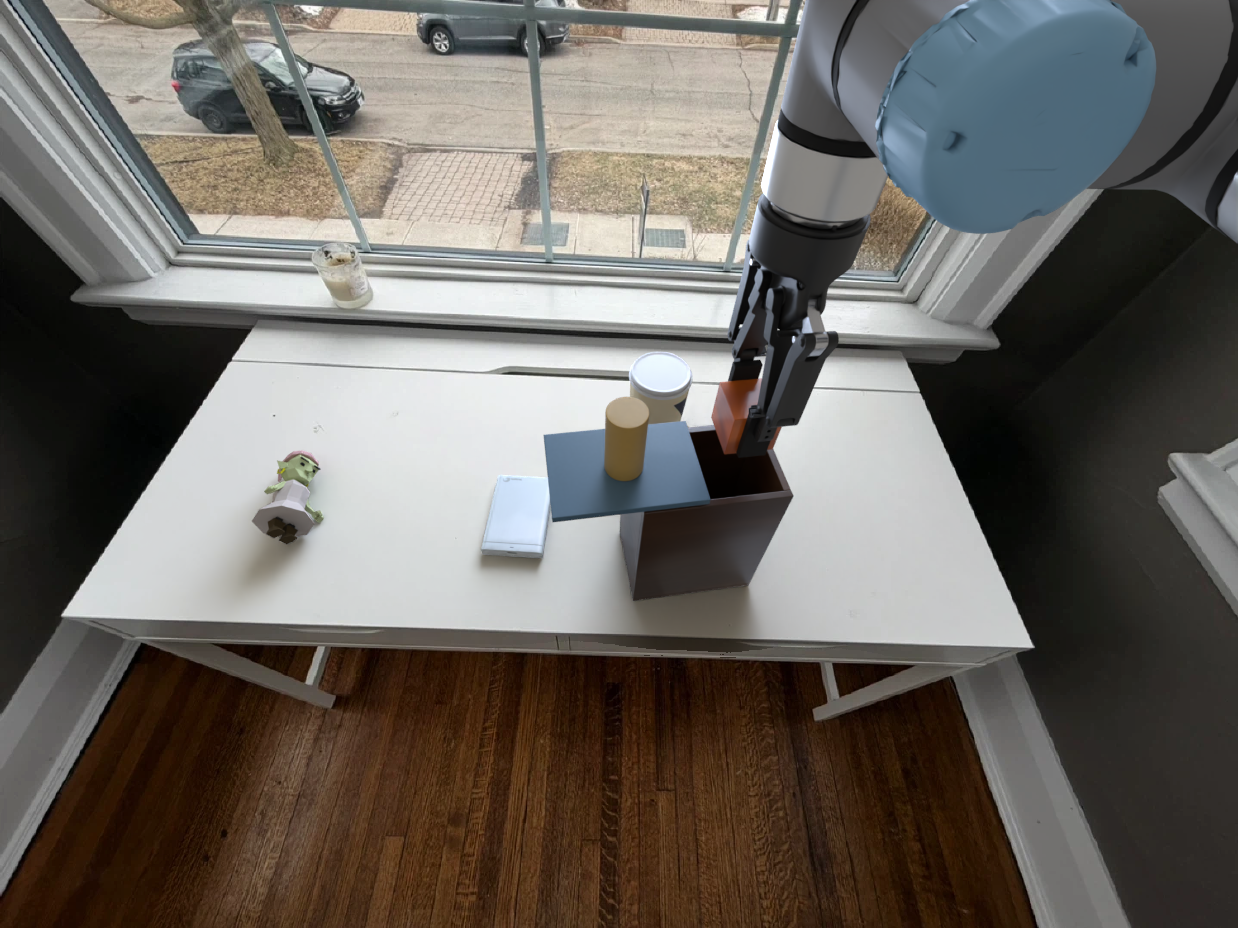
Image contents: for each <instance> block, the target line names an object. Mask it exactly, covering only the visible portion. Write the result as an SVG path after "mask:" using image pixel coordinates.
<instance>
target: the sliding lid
mask: <svg viewBox="0 0 1238 928" xmlns="http://www.w3.org/2000/svg"><path fill="white" fill-rule="evenodd" d="M604 417H605V419H604V420H605V421H604V428H597V429H588V430H579V431H577V430H576V431H567V432H558V433H556V432H555V433H547V434H546V433H545V434H543V444H544V452H545V453H544V454H545V455H544V456H545V463H546V464H545V465H546V475H547V478H548V485H549V494H550V504H551V505H550V513H551V521H552V523H560V522H568V521H569V522H570V521H576V520H577V521H578V520H585V519H594V518H602V517H603V518H604V517H611V516H621V514H629V513H637V512H646V511H654V510H663V509H671V508H680V507H688V506H697V505H705V504H709V503H710V500H711V499H710V496H709V493H708V490H707V487H706V484H705V480H704V477H703V474H702V471H701V468H700V465H699V462H698V458H697V455H696V452H695V449H694V446H693V443H692V439H691V436H690V433H689V430H688V424H687V421H686V420H681V421H679V422H669V423H659V424H648V422H649V409H648V407H647V406H646V404H645V403H644V402H642V401H641V400H639V399H637V398H634V397H630V396H621V397H620V396H619V397H616V398H613V400H611V401H610V402H609V403H608V404H607V406H606V407H605V415H604Z"/></svg>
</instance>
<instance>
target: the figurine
mask: <svg viewBox="0 0 1238 928" xmlns="http://www.w3.org/2000/svg"><path fill="white" fill-rule="evenodd" d="M276 462H277V466H278V468H277V470H276V474H277V482H278V483H276V484H273V485H269V486H267V487H266V489H264V490H263V491H264V492H263V493H264V494H266V495H271V494H272V499H271V503H267V504H266V505H263V506H262V507H260V508H259V509H257V512H256V513H255V515H254V517H253V518H252V520H251V522H252V523H253V524H254V525H255V526H256V527H257V529H259V531H260V532H261V533H262V534H265V535H266V536H268V537H270V538H272V539H276V538H278V542H280V543H282V544H284V545H289V544H292V543H294V542H296V540H297V539H298V537H302V536H308V534H309V533H310V532H311V530H312V529H313V527H314V526H315V525H316V523H319V524H321V522H323V521H324V519H325V516H324V515H323V512H322V511H321V510H316V511H315V510H314V509H313V507H311V504H310V501H309V498H310V495H311V492H310V490H309V489H308V487H309V485H310V483H311V482H312V481H313V479H314V477H316V474H317V473H318V472H319V471H320V470H321V467H319V465H320V462H319V460H317V458H316V457H315V455H313V454H312V452H309V451H306V450H303V449H301V450H294V451H292V452H290V453H289V454H287V455H286V457H285V458H284V459H283V460H276ZM282 479H283V481H282ZM310 515H311V516H310ZM313 519H314V520H313ZM314 521H315V522H316V523H315V522H314Z"/></svg>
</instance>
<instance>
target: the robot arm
mask: <svg viewBox="0 0 1238 928" xmlns="http://www.w3.org/2000/svg"><path fill="white" fill-rule="evenodd" d="M795 40H796V41H795V45H794V49H793V53H792V58H791V62H790V66H789V71H788V75H787V78H786V79H787V80H786V84H785V87H784V92H783V97H782V101H781V104H780V110H779V114H778V118H777V120H776V122H775V125H774V129H773V134H772V138H771V141H770V145H769V150H768V155H767V159H766V163H765V167H764V170H763V171H764V172H763V176H762V179H761V184H760V187H761V190H762V193H761V194H760V196H759V197H758V200H757V203H756V209H755V213H754V217H753V221H752V225H751V229H750V234H749V236H748V240H747V241H746V245H745V254H744V263H743V269H742V272H741V277H740V280H739V285H738V289H737V293H736V297H735V301H734V304H733V305H734V306H733V310H732V314H731V317H730V320H729V326H728V329H727V339H728V341H729V342H734V343H733V345H732V348H731V356H732V359H733V361H732V364H731V367H730V370H729V375H728V379H727V381H738V380H749V379H760V374H761V372H762V374H761V375H762V376H761V378H762V381H761V387H760V393H759V398H758V404H757V405H751V408H749V414H748V417H747V421H746V424H745V427H744V430H743V433H742V436H741V439H740V442H739V445H738V448H737V451H736V453H737V455H738V458H742V457H752V456H761V455H765V454H766V452H767V449H768V446H769V444H770V441H771V440H772V439H773V438H774V435H775V433H776V430H777V428H778V427H782V428H783V427H793V426H794V427H795V426H798V425H799V424H800V421H801V418H802V417H803V414H804V412H805V409H806V408H807V404H808V402H809V400H810V397H811V395H812V393H813V391H814V388H815V385H816V383H817V381H818V379H819V376H820V373H821V372H822V369H823V366H824V364H825V362H826V361H827V358H828V357H829V356H830V355H831V354H832V353H833V352H834V351H835V350H836V348H837V347H838V345H839V340H840V337H839V334H838V332H837V331H836V330H827V331H826V328H825V325H824V321H823V319H822V314H823V313H824V311H825V308H826V305H827V297H828V291H829V287H830V286H831V285H832V283H834V282H835V281H836V280H838V279H839V278H840V277H841V276H843V275H844V274H845V273H847V272H848V271H849V270H850V269H851V268H852V267H853V265H854V263H855V261H856V259H857V256H858V254H859V252H860V248H861V247H862V244H863V242H864V239H865V237H866V235H867V232H868V229H869V227H870V225H871V222H872V221H871V220H872V219H871V214H872V213H873V212H874V211H875V210H876V208H877V205H878V203H879V201H880V198H881V196H882V193H883V191H884V189H885V186H886V183H887V182H888V179H890V180H891V182H892V184H893V186H894V187H895V188H899V189H900V191H901V192H902V193H903V194H904V196H905V197H907V198H912V199H913V200H914V201H915V202H916V203H917V204H918V205H919V206H921V208H923V209H924V210H925V212H926V213H928V214H929V215H930V216H931V217H932V219H934V220H935V221H937V222H938V223H939V224H941V225H943V226H945V227H947V228H949V229H951V230H954V231H957V232H961V233H966V234H974V235H975V234H976V235H987V234H996V233H1000V232H1006V231H1009V230H1012V229H1014V228H1016V227H1017V225H1018V224H1020V223H1022V222H1025V221H1028V220H1029V219H1032V218H1035V217H1036V218H1037V217H1045V216H1047V215H1049V214H1051V213H1054V212H1055V211H1058V210H1059V209H1060V208H1062V207H1063V206H1065V205H1067V204H1068V203H1070V202H1071V201H1072V200H1073V199H1075V198H1076V197H1077V196H1079V195H1080V194H1081V193H1083V192H1084V191H1086V190H1151V191H1152V190H1154V191H1155V190H1156V191H1159V192H1163V193H1166V194H1169V195H1171V196H1172V197H1174V198H1176V199H1177V200H1178V201H1180V203H1182V204H1183V205H1184V206H1186V207H1187V208H1188V209H1190V210H1191V211H1192V212H1193V213H1195V214H1196V216H1198V217H1200V218H1201V219H1202V220H1204V221H1205V222H1206V223H1207V224H1209V225H1210V226H1211V227H1212V228H1214V229H1215V230H1216V231H1218V232H1219V233H1220V234H1222V235H1224V236H1225V237H1226V238H1228V239H1231V240H1232V241H1233V242H1235V243H1236V244H1237V245H1238V0H805V1H804V5H803V10H802V13H801V18H800V23H799V27H798V31H797V36H796V39H795ZM766 346H767V348H766ZM758 357H759V358H760V357H765V359H764V365H763V362H762V360H761V359H755V358H758ZM762 369H763V371H762Z"/></svg>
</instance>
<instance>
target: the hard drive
mask: <svg viewBox="0 0 1238 928" xmlns="http://www.w3.org/2000/svg"><path fill="white" fill-rule="evenodd" d="M496 478H497V479H496V483H495V487H494V492H493V496H492V500H491V505H490V508H489V512H488V516H487V517H488V518H487V520H486V521H487V522H486V526H485V530H484V534H483V539H482V542H481V543H482V544H481V548H480V552H481V555H485V556H498V557H499V556H500V557H502V556H503V557H515V558H529V559H530V558H531V559H542V558H543V556H544V549H545V543H546V536H547V532H548V531H547V530H548V524H549V518H550V513H551V504H550V494H549V485H548V477H546V476H545V477H544V476H543V477H542V476H527V475H509V474H508V475H507V474H499V475H497V477H496Z"/></svg>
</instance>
